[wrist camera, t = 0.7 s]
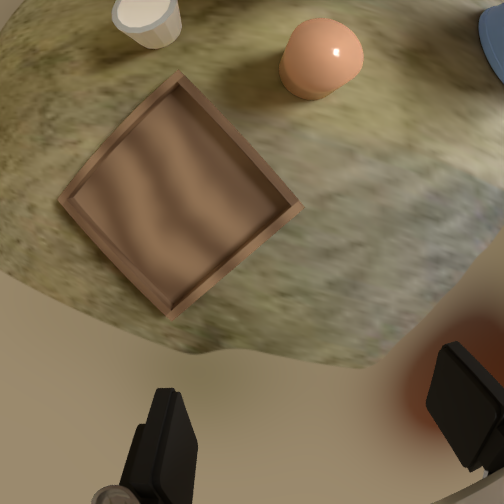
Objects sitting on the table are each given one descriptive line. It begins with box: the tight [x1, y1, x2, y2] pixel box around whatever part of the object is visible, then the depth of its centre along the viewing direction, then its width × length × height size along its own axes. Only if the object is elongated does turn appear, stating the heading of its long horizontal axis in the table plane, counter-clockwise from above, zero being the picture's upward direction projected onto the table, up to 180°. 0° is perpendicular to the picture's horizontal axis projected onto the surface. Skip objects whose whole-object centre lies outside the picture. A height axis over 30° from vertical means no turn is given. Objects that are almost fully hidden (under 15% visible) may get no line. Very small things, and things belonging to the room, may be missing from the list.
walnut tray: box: [57, 69, 305, 321], centre depth 34 cm, size 20×20×2 cm
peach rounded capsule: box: [279, 18, 364, 100], centre depth 27 cm, size 7×7×8 cm
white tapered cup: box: [112, 0, 182, 49], centre depth 26 cm, size 7×7×7 cm
